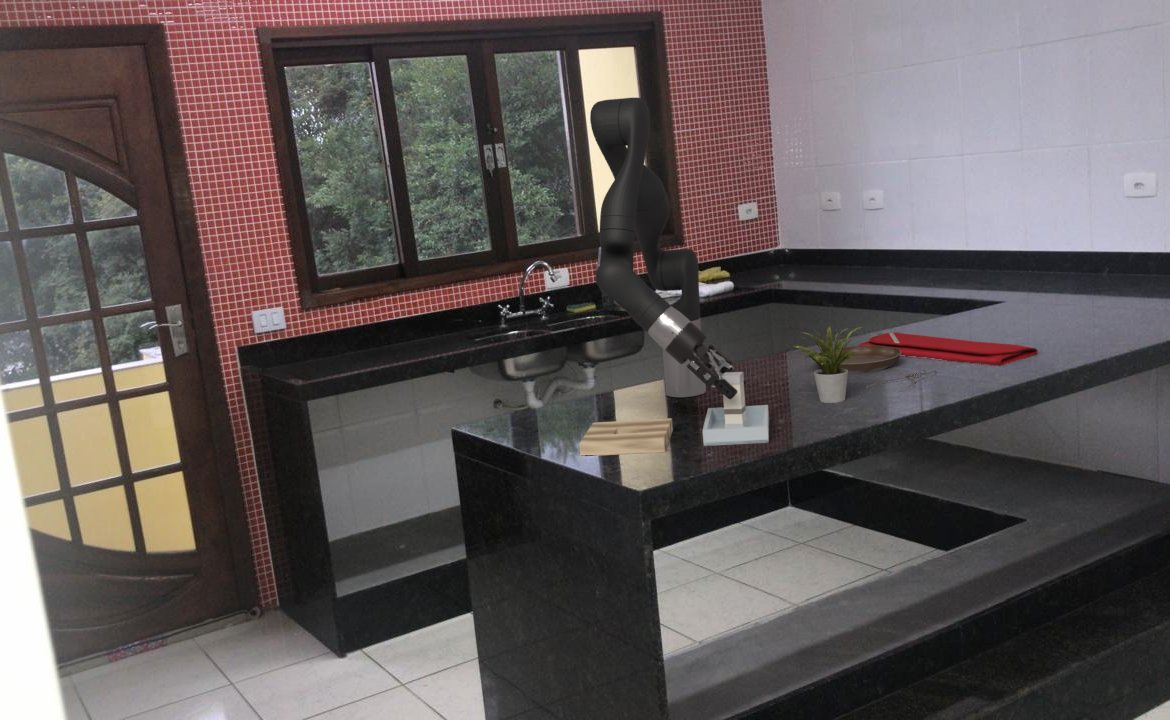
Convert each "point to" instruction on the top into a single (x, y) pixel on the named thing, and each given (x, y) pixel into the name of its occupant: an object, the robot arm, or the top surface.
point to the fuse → (735, 401)
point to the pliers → (902, 378)
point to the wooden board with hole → (627, 437)
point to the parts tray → (743, 435)
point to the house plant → (830, 366)
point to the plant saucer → (869, 358)
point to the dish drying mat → (952, 348)
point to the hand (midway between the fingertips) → (739, 391)
